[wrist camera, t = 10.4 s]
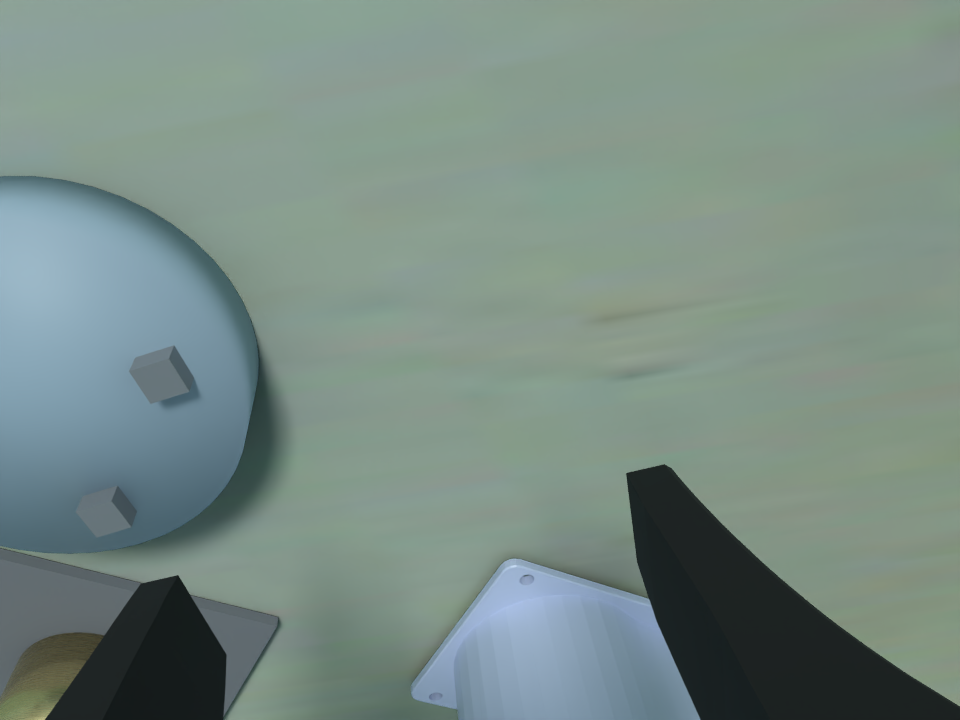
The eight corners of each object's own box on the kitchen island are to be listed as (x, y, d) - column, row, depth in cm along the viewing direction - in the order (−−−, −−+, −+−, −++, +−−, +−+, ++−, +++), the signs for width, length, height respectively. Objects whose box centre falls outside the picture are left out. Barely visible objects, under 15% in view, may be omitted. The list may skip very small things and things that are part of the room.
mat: (278, 617, 28) (277, 626, 28) (188, 769, 32) (186, 779, 32) (-31, 540, 24) (-36, 550, 24) (-86, 723, 29) (-91, 733, 28)
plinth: (314, 275, 21) (306, 335, 18) (193, 528, 25) (173, 605, 23) (-111, 101, 17) (-195, 144, 15) (-168, 429, 22) (-240, 507, 19)
